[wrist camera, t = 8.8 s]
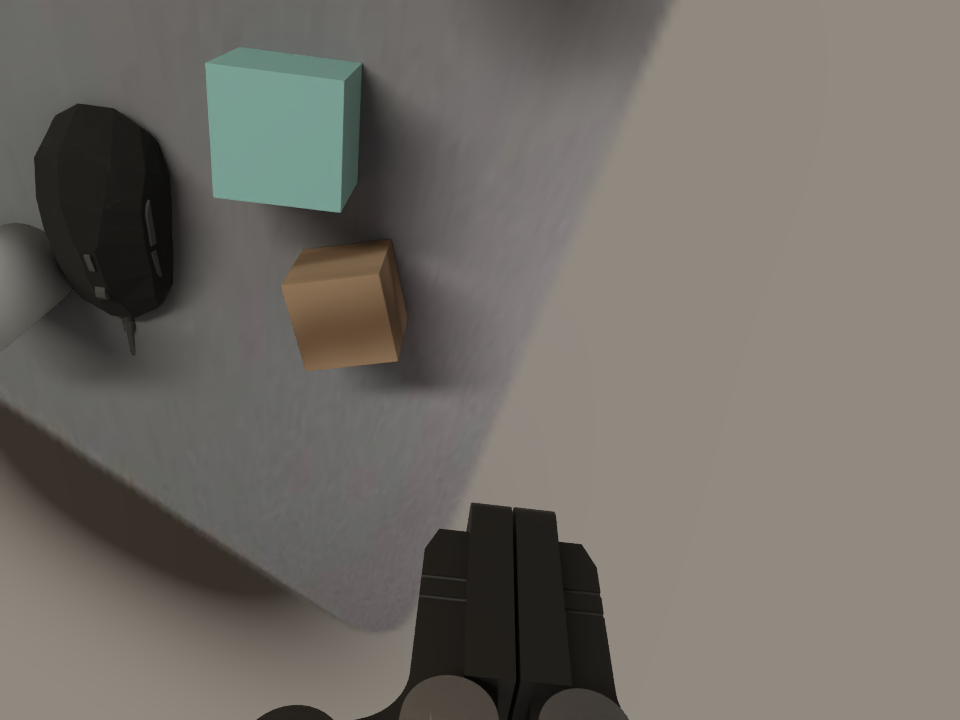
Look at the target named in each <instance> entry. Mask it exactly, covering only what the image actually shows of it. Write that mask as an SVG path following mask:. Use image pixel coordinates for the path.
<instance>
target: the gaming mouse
mask: <svg viewBox="0 0 960 720" xmlns="http://www.w3.org/2000/svg"><path fill="white" fill-rule="evenodd" d="M34 163H35V183H36V199H37V203H38V207H39V211H40V215H41V219H42V223H43V227H44V231H45V233H46V236H47V238H48V241H49V243H50V245H51V248H52V250H53V253H54V255H55V258H56V260H57V262H58V264H59V266H60V268H61V269H62V271H63V273H64V275H65V276H66V278H67V280H68V282H69V283H70V285H71V287H72V288H73V289H74V290H75V291H76V292H77V293H78V294H79V295H80V296H81V297H82V298H83V299H85V300H86V301H88V302H90V303H91V304H93V305H95V306H96V307H98V308H100V309H102V310H103V311H105V312H107V313H108V314H110V315H114V316H122V318H123V326H124V331H126V332H127V335H128V340H129V345H130V350H131V353H132V355H135V340H134V331H135V324H134V320H132V319H133V318H135V317H138V316H140V315H142V314H144V313H147V312H149V311H151V310H154V309H156V308H158V307H159V306H160V305H161V304H162V303H163V301H164V299H165V297H166V296H167V294H168V292H169V290H170V288H171V286H172V284H173V246H172V227H171V189H170V176H169V173H168V170H167V167H166V164H165V161H164V159H163V156H162V153H161V150H160V147H159V145H158V143H157V142H156V141H155V140H154V138H153V137H152V136H151V134H150V133H149V132H147V131H146V130H144V129H143V128H142V127H140V126H139V125H137V124H136V123H134V122H133V121H132V120H130V119H129V118H127V117H126V116H124V115H123V114H122V113H120V112H119V111H117V110H116V109H114V108H107V107H100V106H92V105H85V104H76V105H74V106H72V107H71V108H69V109H67V110H65V111H63V112H61V113H59V114H57V115H56V116H55V117H54V119H53V120H52V123H51V125H50V127H49V129H48V131H47V133H46V135H45V137H44V139H43V141H42V143H41V145H40V147H39V149H38V151H37V153H36V155H35V157H34Z"/></svg>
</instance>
